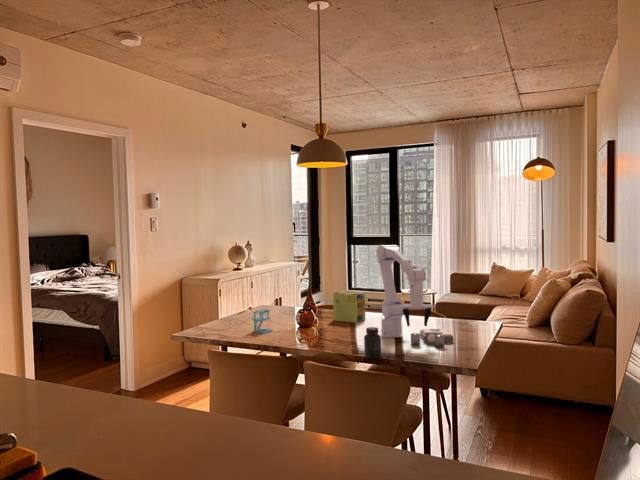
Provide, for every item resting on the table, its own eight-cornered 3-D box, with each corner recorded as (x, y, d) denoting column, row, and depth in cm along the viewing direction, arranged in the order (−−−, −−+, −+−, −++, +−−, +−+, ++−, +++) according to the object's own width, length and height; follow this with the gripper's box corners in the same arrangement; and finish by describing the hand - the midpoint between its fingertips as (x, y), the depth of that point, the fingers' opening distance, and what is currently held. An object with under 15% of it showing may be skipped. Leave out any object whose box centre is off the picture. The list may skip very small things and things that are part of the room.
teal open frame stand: (260, 329, 255) (259, 306, 255) (272, 331, 251) (272, 307, 251) (250, 332, 249) (249, 309, 248) (263, 334, 244) (263, 310, 244)
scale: (425, 344, 219) (425, 333, 219) (420, 336, 234) (419, 326, 234) (454, 344, 218) (454, 333, 218) (447, 336, 233) (447, 325, 233)
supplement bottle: (379, 355, 203) (379, 326, 202) (382, 359, 196) (382, 329, 195) (363, 355, 202) (363, 326, 202) (365, 360, 196) (365, 330, 195)
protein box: (357, 323, 268) (357, 294, 267) (333, 320, 276) (332, 293, 275) (365, 319, 277) (365, 292, 276) (342, 317, 285) (341, 290, 284)
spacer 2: (435, 348, 212) (435, 336, 212) (433, 345, 216) (433, 334, 216) (444, 347, 212) (444, 336, 212) (443, 345, 216) (442, 334, 216)
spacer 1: (411, 346, 216) (411, 335, 216) (410, 344, 220) (410, 333, 220) (420, 346, 216) (420, 335, 216) (419, 344, 220) (419, 333, 220)
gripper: (401, 297, 214) (402, 327, 214) (434, 296, 214) (435, 327, 214) (399, 294, 221) (399, 324, 221) (431, 294, 221) (431, 324, 221)
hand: (416, 325), depth 218 cm, fingers open, 7 cm apart
